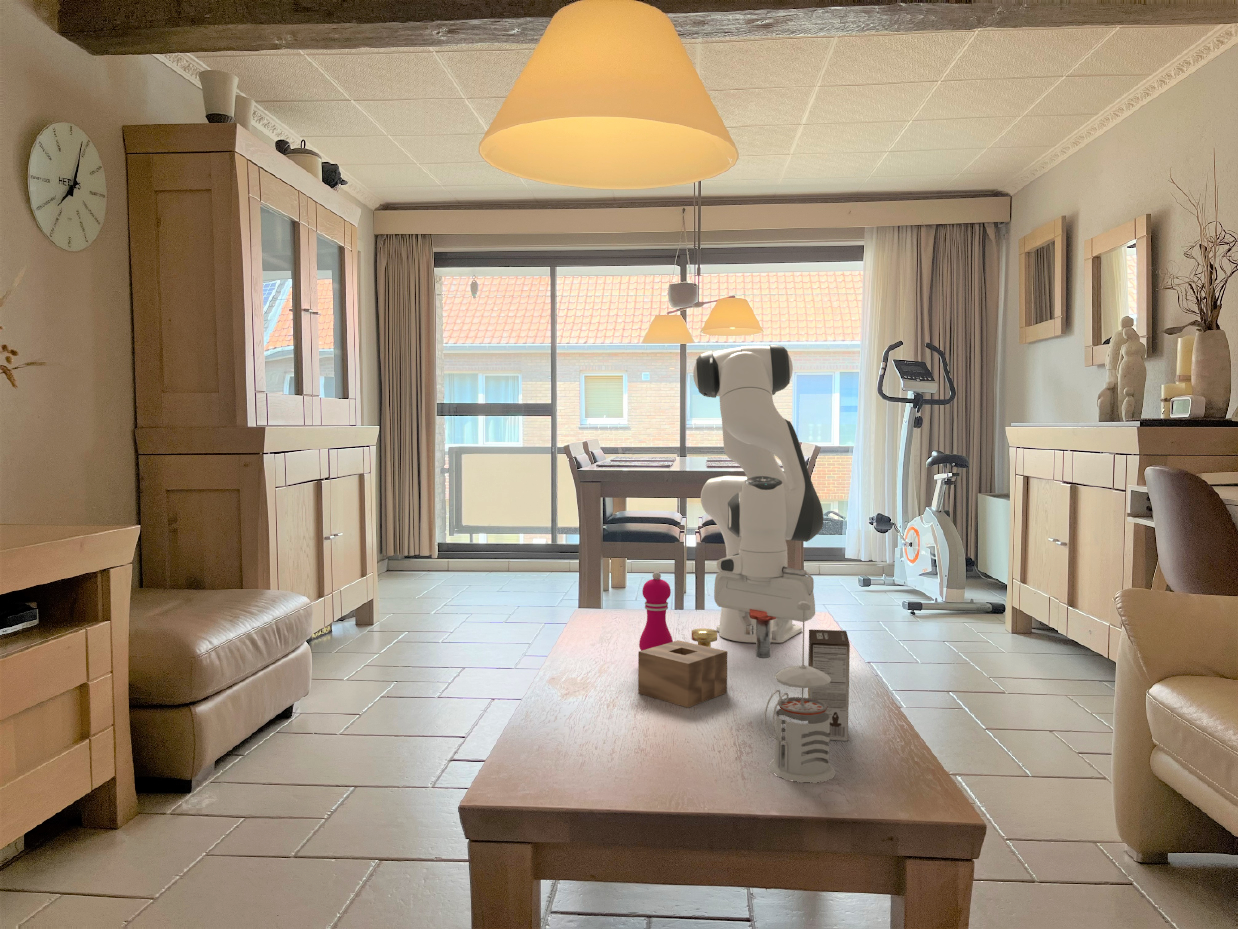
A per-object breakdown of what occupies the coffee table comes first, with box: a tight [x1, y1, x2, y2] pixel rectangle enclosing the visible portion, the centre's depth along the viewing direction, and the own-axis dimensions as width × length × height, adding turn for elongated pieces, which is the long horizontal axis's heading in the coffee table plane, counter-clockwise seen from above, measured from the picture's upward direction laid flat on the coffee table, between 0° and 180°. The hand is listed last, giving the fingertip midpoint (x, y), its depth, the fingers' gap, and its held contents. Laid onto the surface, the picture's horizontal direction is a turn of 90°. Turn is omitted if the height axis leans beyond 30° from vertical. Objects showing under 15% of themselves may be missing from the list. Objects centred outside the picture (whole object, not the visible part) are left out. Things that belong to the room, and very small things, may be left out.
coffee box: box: [807, 629, 851, 742], centre depth 139 cm, size 9×6×16 cm
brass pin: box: [691, 627, 718, 648], centre depth 171 cm, size 5×5×9 cm
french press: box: [764, 601, 837, 784], centre depth 123 cm, size 10×12×25 cm
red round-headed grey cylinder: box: [749, 609, 776, 659], centre depth 157 cm, size 5×5×9 cm
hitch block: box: [637, 639, 728, 709], centre depth 159 cm, size 12×12×8 cm
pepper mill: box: [638, 571, 674, 651], centre depth 178 cm, size 7×7×20 cm
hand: (763, 637), depth 157 cm, fingers closed on red round-headed grey cylinder, 5 cm apart
